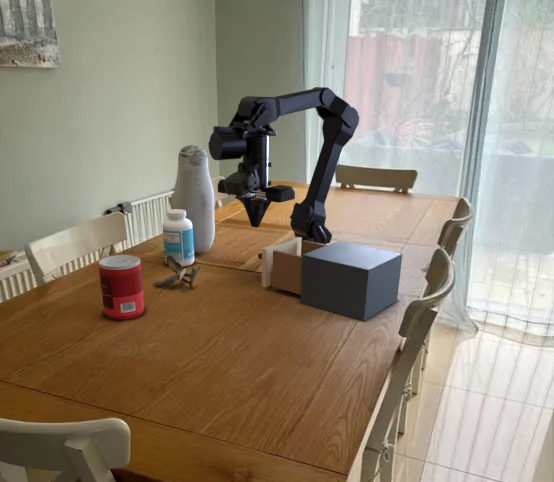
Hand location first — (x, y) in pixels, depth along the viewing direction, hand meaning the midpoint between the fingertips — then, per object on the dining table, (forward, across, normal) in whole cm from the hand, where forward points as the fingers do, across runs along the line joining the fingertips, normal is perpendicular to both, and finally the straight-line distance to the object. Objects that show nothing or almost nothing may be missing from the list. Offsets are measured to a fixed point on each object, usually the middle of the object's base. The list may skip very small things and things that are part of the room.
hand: (255, 227), depth 128 cm
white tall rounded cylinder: (+12, -25, +5) cm, 28 cm away
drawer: (+11, +13, 0) cm, 17 cm away
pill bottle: (+12, -21, -5) cm, 25 cm away
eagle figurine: (+12, -9, -17) cm, 23 cm away
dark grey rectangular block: (+12, +26, 0) cm, 29 cm away
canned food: (+12, -5, -35) cm, 37 cm away
